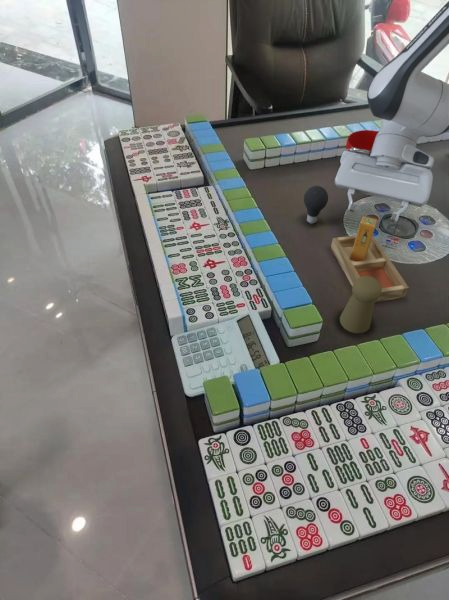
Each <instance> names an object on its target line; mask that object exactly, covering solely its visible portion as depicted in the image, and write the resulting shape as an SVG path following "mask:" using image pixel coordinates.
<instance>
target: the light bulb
mask: <svg viewBox="0 0 449 600" xmlns="http://www.w3.org/2000/svg"><path fill="white" fill-rule="evenodd" d="M328 201H329V195H328V191H327V190H326V189H325V188H324V187H322V186H320V185H313V186H311V187H309V188H308V189H307V190H306V191H305V193H304V195H303V202H304V203H303V204H304V205H305V208H306V213H307V215H306V216H307V217H306V221H307V222H308V223H309V224H311V225H313V224H314V223H317V221H318V217H319V215H320V213H321V211H322V210H323V209H324V208H325V207H326V206H327V204H328Z"/></svg>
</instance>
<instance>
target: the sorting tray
mask: <svg viewBox="0 0 449 600" xmlns="http://www.w3.org/2000/svg"><path fill="white" fill-rule="evenodd" d="M356 235H357V234H354V235H347V236H338V237H333V238H332V240H331V245H330V250H331V251H332V254H333V255H334V257H335V259H336V260H337V262H338V264H339V266H340V267H341V269H342V271H343V273H344V274H345V277H346V278H347V280H348V282H349V284H350V285H351V287H352V286H353V283H354V282H355V280H356V279H358V278H360V277H362V276H370V277H373V278H375V279H377V280H378V281H379V283H380V284H381V287H382V292H381V295H380V297H379V298H378V299H377V300H376V301H375V303H379V302H386V301H391V300H399V299H404V298H406V296H407V293H408V291H409V285H408V284H407V282H406V281H405V279H404V278H403V277H402V275H401V274H400V272H399V270H398V269H397V268H396V267H395V265H394V263H393V262H392V261H391V259H390V258H389V256H388V255H387V253H386V252H385V250H384V249H383V247H382V246H381V245H380V243H379V242H378V240H377V239H376V237H375V235H373V236H372V239H371V242H370V245H369V248H368V252H367V255H366V258H365V261H356V260H351V259H350V256H351V253H352V249H353V246H354V242H355V239H356Z"/></svg>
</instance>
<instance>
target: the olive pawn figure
mask: <svg viewBox="0 0 449 600" xmlns="http://www.w3.org/2000/svg"><path fill="white" fill-rule="evenodd" d="M381 292H382V287H381V284H380V283H379V281H378V280H377V279H375V278H373V277H370V276H362V277H360V278H358V279H356V280H355V282H354V283H353V286H352V285H351V293H352V294H351V295H350V298H349V299H348V301H347V304H346V305H345V307H344V309H343V310H342V312H341V313H340V316H339V323H340V325H341V327H343V329H344V330H346V331H348V332H350V333H352V334H363V333H366V332H368V331H369V330H370V329H371V324H372V319H373V314H374V310H375V303H376V302H375V301H376V300H377V299H378V298H379V297H380V295H381Z"/></svg>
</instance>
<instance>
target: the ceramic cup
mask: <svg viewBox="0 0 449 600" xmlns="http://www.w3.org/2000/svg"><path fill="white" fill-rule="evenodd" d="M378 132H379V131H378V130H373V129H372V130H371V129H362V130H356V131H354V132H351V133H350V134H349V135H348V137H347V140H346V146H345V150H346V149H351V147H354V148H357V149H364V150H369V151H372V147H373V144H374V141H375V138H376V135H377V134H378ZM349 152H350V151H349ZM369 157H370V155H369Z"/></svg>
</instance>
